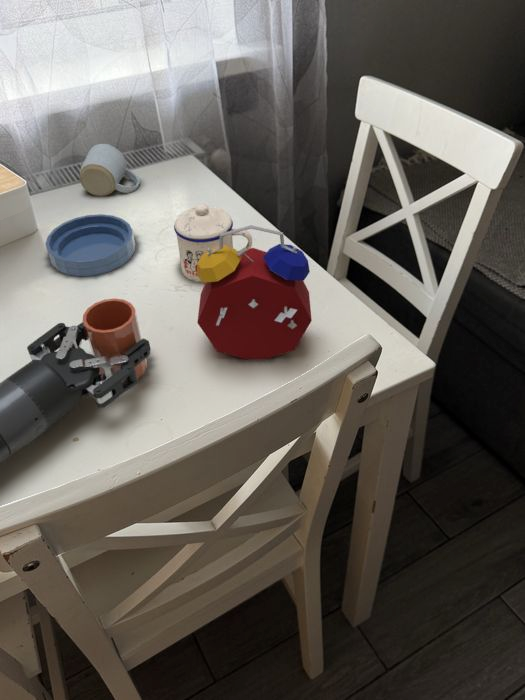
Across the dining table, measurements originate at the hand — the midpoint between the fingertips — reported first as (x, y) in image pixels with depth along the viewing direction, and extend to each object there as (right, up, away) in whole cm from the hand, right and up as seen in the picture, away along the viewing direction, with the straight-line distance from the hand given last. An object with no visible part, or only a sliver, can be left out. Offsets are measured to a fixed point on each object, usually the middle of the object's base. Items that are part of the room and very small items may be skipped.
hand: (124, 331), depth 79 cm
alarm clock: (+17, -3, +5) cm, 18 cm away
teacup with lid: (+11, +11, +20) cm, 25 cm away
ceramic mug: (-12, +30, +40) cm, 51 cm away
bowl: (-11, +14, +23) cm, 29 cm away
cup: (-1, -5, +3) cm, 6 cm away
